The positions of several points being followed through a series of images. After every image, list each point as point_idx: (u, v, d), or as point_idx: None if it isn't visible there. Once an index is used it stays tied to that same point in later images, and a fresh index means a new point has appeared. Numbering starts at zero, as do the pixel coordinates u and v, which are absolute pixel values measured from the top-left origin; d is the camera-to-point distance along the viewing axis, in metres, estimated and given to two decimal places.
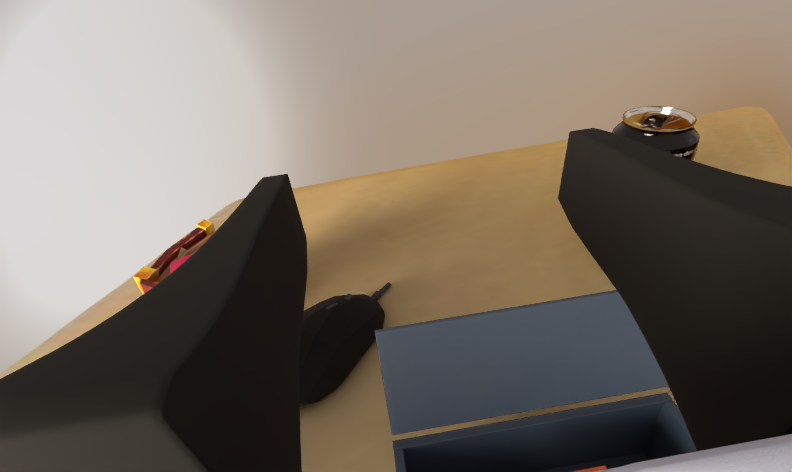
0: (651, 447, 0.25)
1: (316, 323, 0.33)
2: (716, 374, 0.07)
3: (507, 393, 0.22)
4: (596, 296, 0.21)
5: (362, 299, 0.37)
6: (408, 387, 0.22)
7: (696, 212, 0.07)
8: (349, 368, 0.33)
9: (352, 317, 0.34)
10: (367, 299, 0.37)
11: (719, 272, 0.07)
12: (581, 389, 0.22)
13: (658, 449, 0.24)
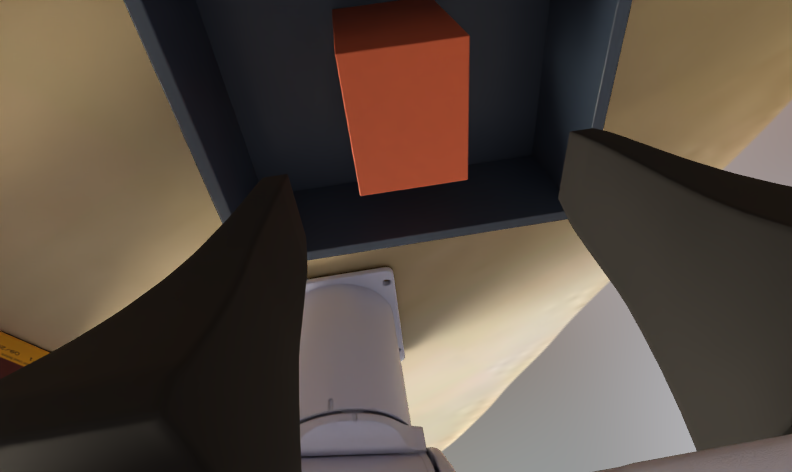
0: None
1: None
2: (716, 374, 0.07)
3: None
4: None
5: None
6: None
7: (697, 213, 0.07)
8: None
9: None
10: None
11: (719, 272, 0.07)
12: None
13: None
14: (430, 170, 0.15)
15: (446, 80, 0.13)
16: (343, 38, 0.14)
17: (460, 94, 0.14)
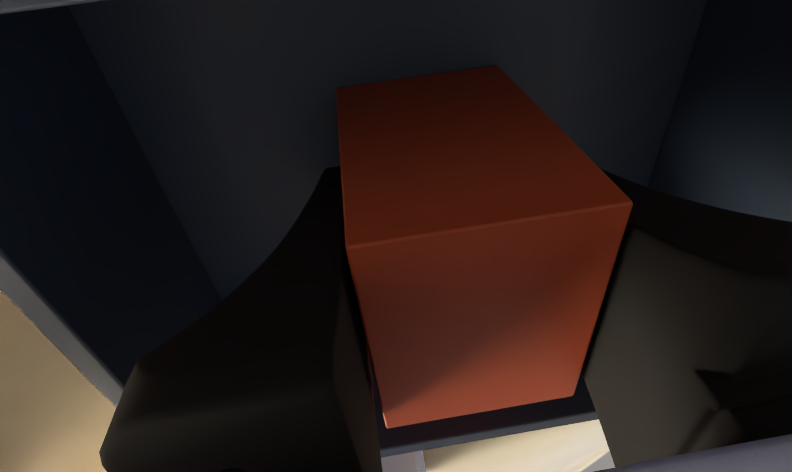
0: None
1: None
2: (625, 390, 0.07)
3: None
4: None
5: None
6: None
7: None
8: None
9: None
10: None
11: (623, 288, 0.07)
12: None
13: None
14: (512, 391, 0.09)
15: (568, 274, 0.07)
16: (360, 184, 0.07)
17: (590, 292, 0.07)
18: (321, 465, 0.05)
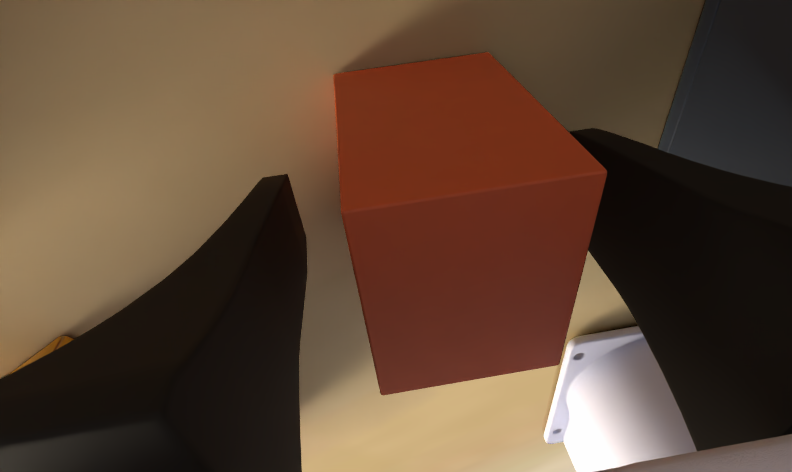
0: None
1: None
2: (716, 374, 0.07)
3: None
4: None
5: None
6: None
7: (696, 213, 0.07)
8: None
9: None
10: None
11: (719, 272, 0.07)
12: None
13: None
14: (500, 359, 0.09)
15: (550, 242, 0.07)
16: (355, 157, 0.07)
17: (571, 260, 0.07)
18: None
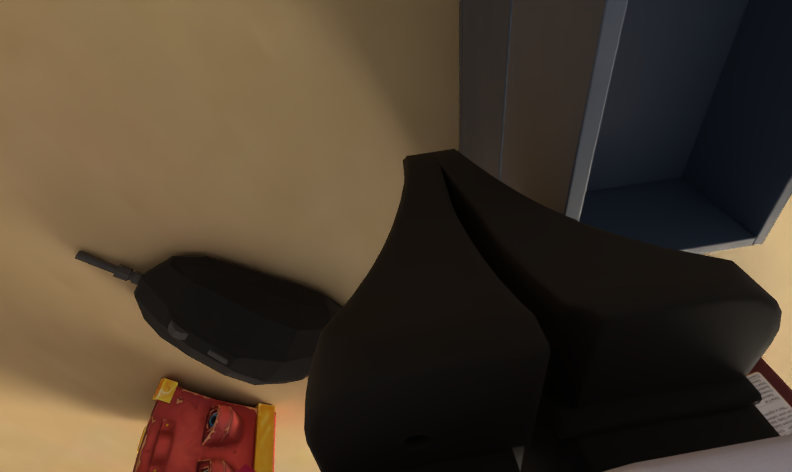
0: None
1: (259, 366, 0.22)
2: None
3: None
4: None
5: (168, 308, 0.21)
6: None
7: (490, 245, 0.07)
8: (296, 289, 0.23)
9: (226, 321, 0.21)
10: (161, 297, 0.21)
11: None
12: None
13: None
14: None
15: None
16: None
17: None
18: (498, 433, 0.05)
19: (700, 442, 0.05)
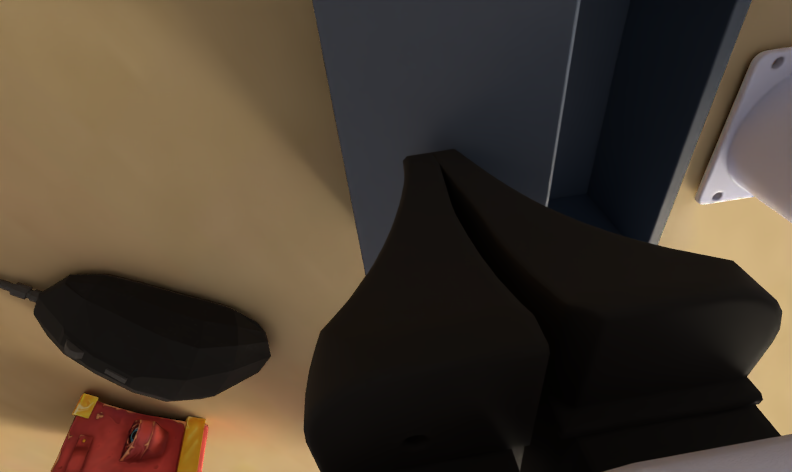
0: None
1: (161, 385, 0.22)
2: None
3: None
4: (573, 35, 0.08)
5: (63, 327, 0.21)
6: None
7: (490, 245, 0.07)
8: (203, 306, 0.23)
9: (122, 340, 0.21)
10: (56, 316, 0.21)
11: None
12: None
13: None
14: None
15: None
16: None
17: None
18: (498, 433, 0.05)
19: (701, 442, 0.05)
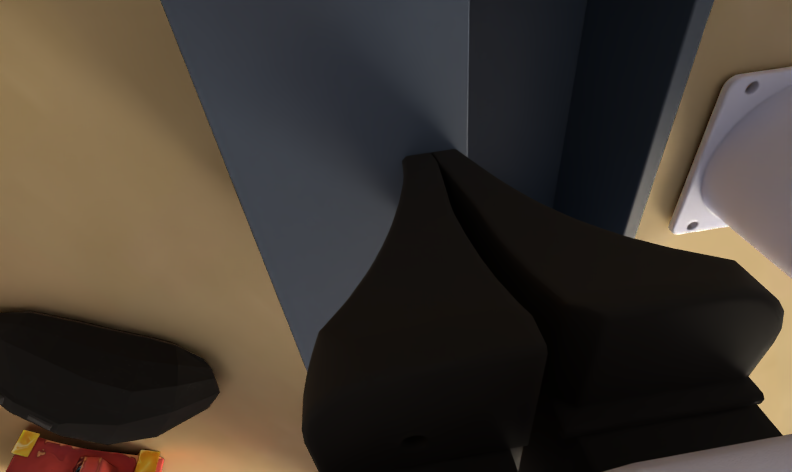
0: None
1: (91, 430, 0.20)
2: None
3: None
4: (464, 31, 0.09)
5: None
6: None
7: (491, 246, 0.07)
8: (140, 343, 0.22)
9: (45, 384, 0.19)
10: None
11: None
12: None
13: None
14: None
15: None
16: None
17: None
18: (495, 433, 0.05)
19: (702, 442, 0.05)
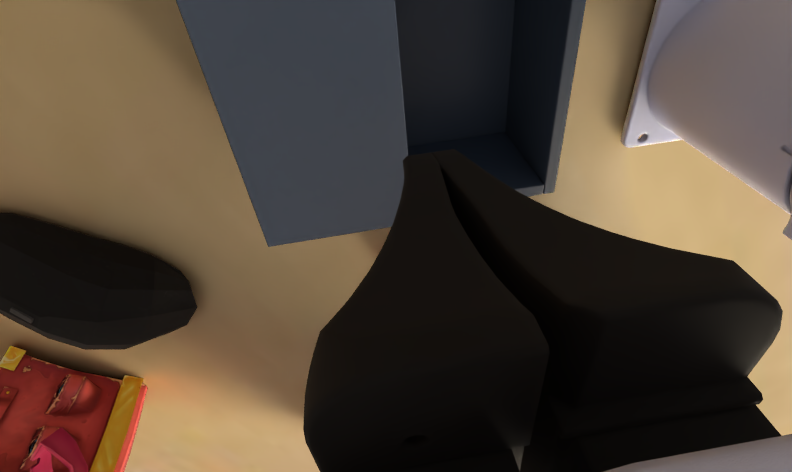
0: None
1: (71, 326, 0.21)
2: None
3: None
4: None
5: None
6: None
7: (490, 245, 0.07)
8: (118, 249, 0.23)
9: (27, 278, 0.20)
10: None
11: None
12: None
13: None
14: None
15: None
16: None
17: None
18: (497, 435, 0.05)
19: (701, 442, 0.05)
